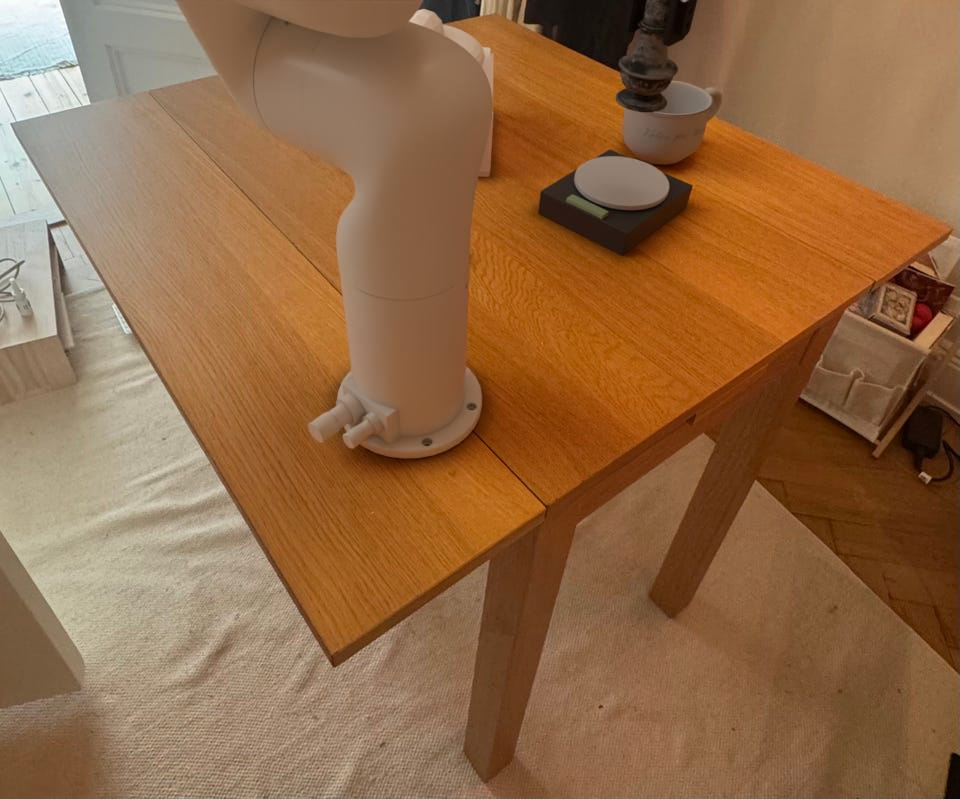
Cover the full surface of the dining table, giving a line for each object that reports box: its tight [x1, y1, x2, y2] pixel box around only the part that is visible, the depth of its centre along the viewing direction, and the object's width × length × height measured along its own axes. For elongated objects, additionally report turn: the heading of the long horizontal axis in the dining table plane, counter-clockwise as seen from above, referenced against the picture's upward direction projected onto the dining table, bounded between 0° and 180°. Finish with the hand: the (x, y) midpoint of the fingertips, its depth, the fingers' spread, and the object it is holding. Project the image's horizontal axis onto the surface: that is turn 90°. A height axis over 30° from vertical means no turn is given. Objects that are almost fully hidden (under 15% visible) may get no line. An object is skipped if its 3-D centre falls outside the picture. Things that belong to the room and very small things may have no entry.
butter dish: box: [409, 8, 495, 178], centre depth 92 cm, size 18×18×16 cm
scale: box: [537, 148, 694, 257], centre depth 86 cm, size 14×12×4 cm
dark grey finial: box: [615, 0, 679, 112], centre depth 71 cm, size 6×6×12 cm
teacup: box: [621, 79, 723, 165], centre depth 95 cm, size 14×11×8 cm
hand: (654, 33), depth 70 cm, fingers closed on dark grey finial, 3 cm apart
